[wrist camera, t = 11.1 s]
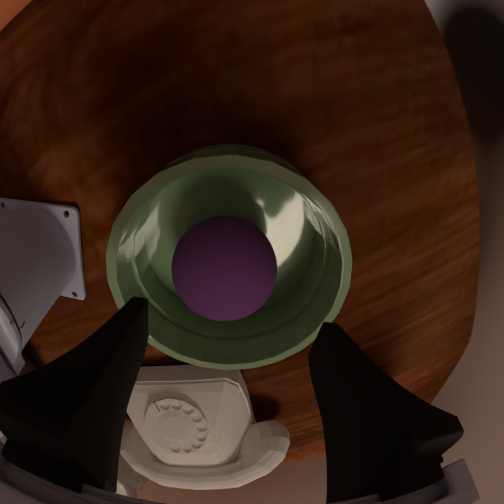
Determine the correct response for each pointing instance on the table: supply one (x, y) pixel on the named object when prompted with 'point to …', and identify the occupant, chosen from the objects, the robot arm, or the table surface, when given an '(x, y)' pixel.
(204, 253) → the purple ball
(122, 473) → the grey rock
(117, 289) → the sage bowl
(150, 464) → the telephone
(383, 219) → the table surface
